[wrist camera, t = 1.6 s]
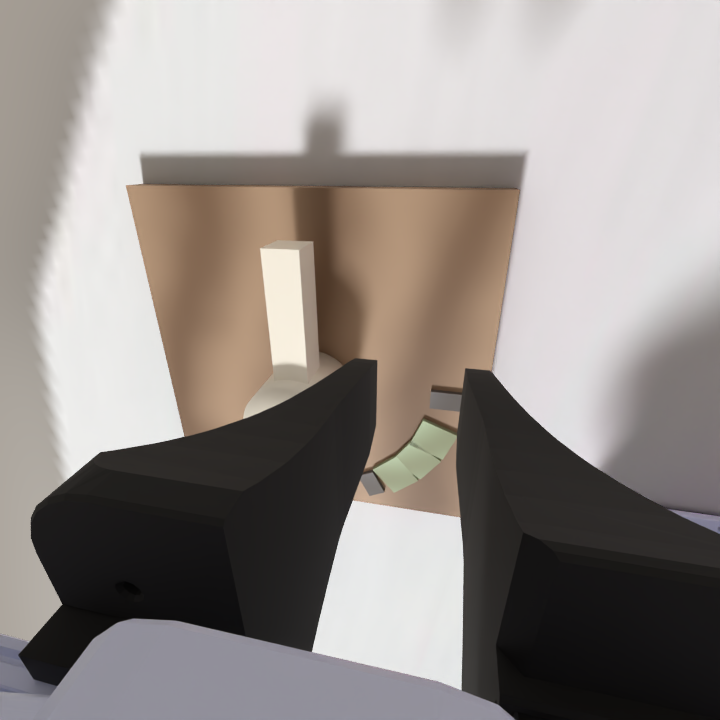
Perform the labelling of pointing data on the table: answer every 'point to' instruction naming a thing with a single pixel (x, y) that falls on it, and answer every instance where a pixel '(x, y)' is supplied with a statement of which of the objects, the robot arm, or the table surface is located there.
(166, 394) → the table surface
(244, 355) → the board
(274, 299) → the peg
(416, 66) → the table surface
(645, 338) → the table surface
